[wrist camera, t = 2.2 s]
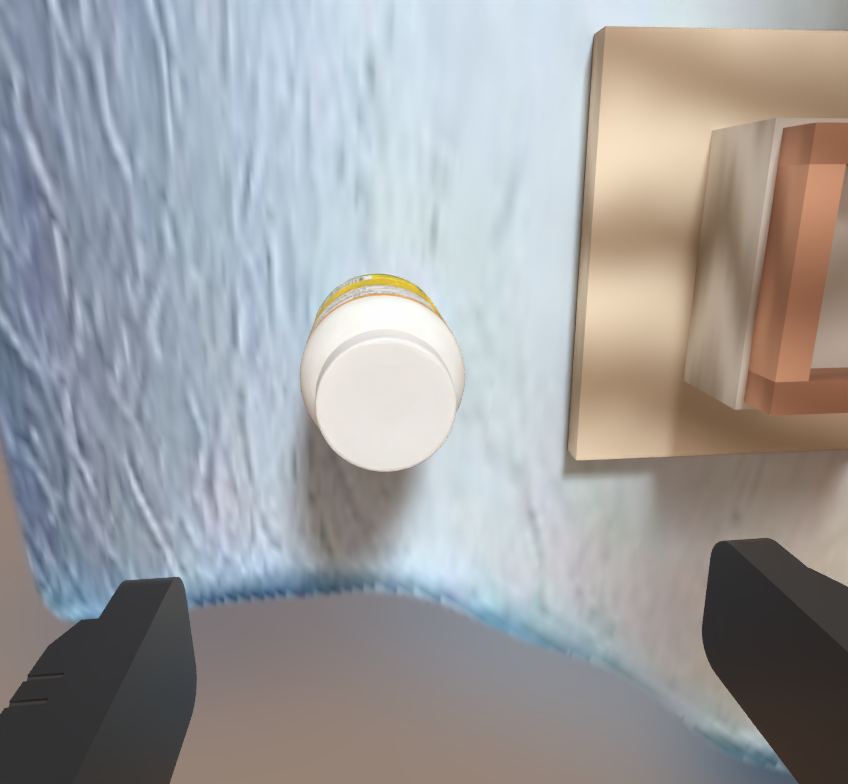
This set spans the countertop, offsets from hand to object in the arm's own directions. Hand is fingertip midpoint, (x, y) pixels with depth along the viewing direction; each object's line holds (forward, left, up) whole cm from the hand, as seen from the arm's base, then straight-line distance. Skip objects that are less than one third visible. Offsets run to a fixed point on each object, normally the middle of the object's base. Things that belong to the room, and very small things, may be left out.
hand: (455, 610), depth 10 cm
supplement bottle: (0, -1, -19) cm, 19 cm away
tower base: (-3, +17, -18) cm, 25 cm away
